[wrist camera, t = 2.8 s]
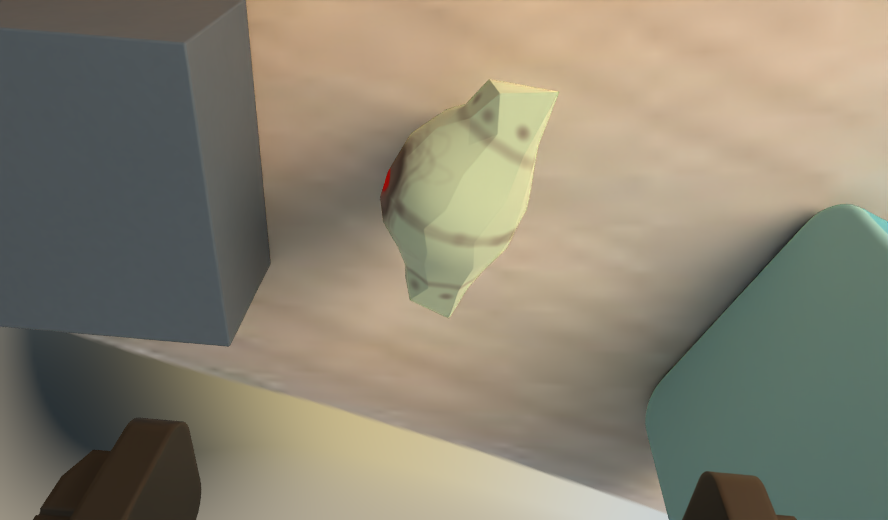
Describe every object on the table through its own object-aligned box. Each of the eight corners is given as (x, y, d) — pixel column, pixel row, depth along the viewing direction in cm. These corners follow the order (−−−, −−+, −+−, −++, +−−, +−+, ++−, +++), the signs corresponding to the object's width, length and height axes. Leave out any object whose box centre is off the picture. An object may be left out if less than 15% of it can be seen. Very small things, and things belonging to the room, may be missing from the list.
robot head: (472, 247, 25) (467, 369, 20) (369, 211, 25) (334, 326, 19) (566, 49, 21) (594, 132, 16) (444, 0, 21) (428, 68, 15)
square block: (20, 242, 26) (-68, 321, 22) (-71, -28, 21) (-210, 10, 17) (271, 264, 26) (230, 347, 22) (246, -2, 21) (185, 43, 17)
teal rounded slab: (721, 437, 30) (835, 743, 20) (636, 403, 29) (711, 704, 19) (936, 236, 24) (1254, 533, 14) (836, 184, 23) (1100, 462, 13)
